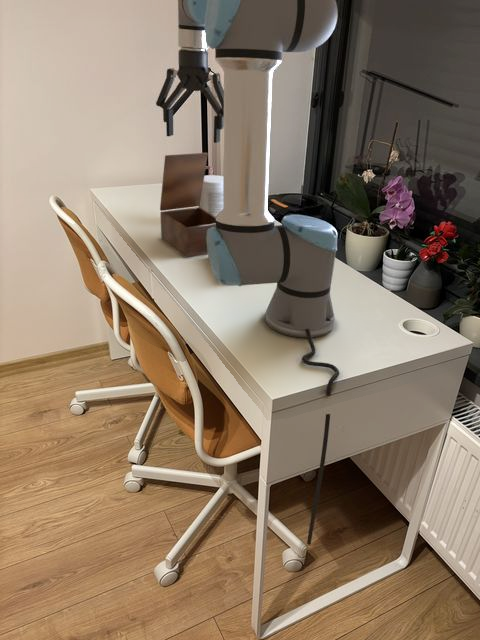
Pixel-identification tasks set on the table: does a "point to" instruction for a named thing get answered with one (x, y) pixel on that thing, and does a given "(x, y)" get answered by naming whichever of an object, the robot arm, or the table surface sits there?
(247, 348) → the table surface
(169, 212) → the chest
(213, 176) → the supplement tub
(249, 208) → the robot arm
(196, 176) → the lid
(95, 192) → the table surface
